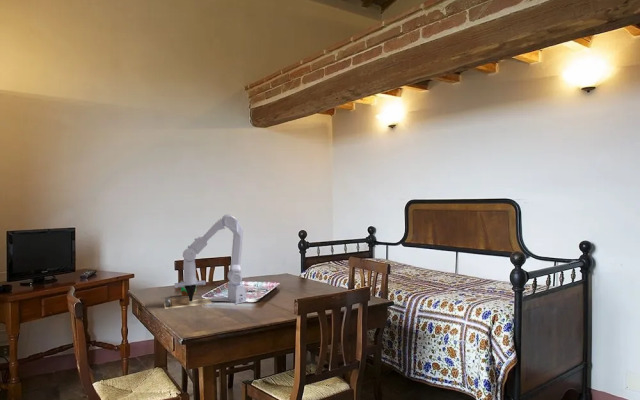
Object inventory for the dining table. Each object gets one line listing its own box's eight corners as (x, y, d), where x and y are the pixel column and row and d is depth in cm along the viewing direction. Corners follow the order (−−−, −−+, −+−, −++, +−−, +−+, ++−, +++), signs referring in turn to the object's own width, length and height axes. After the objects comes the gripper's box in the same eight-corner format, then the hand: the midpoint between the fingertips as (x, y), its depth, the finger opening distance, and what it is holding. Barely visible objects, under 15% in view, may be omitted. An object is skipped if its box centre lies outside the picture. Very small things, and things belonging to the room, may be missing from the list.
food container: (191, 300, 237) (190, 281, 236) (180, 300, 238) (179, 280, 238) (202, 294, 249) (201, 276, 248) (191, 294, 250) (191, 276, 250)
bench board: (209, 301, 234) (209, 298, 234) (212, 306, 223) (212, 303, 223) (163, 306, 225) (163, 303, 225) (165, 312, 214) (165, 309, 214)
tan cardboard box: (187, 301, 227) (187, 295, 227) (189, 304, 221) (188, 298, 221) (170, 303, 224) (170, 297, 224) (171, 306, 218) (171, 300, 218)
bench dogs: (169, 304, 224) (169, 296, 224) (170, 306, 218) (170, 299, 218) (165, 304, 223) (164, 297, 223) (165, 307, 217) (165, 300, 217)
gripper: (203, 270, 231) (204, 297, 231) (173, 273, 225) (174, 300, 225) (205, 272, 224) (206, 300, 224) (174, 275, 219) (175, 303, 219)
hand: (190, 300), depth 224 cm, fingers closed
